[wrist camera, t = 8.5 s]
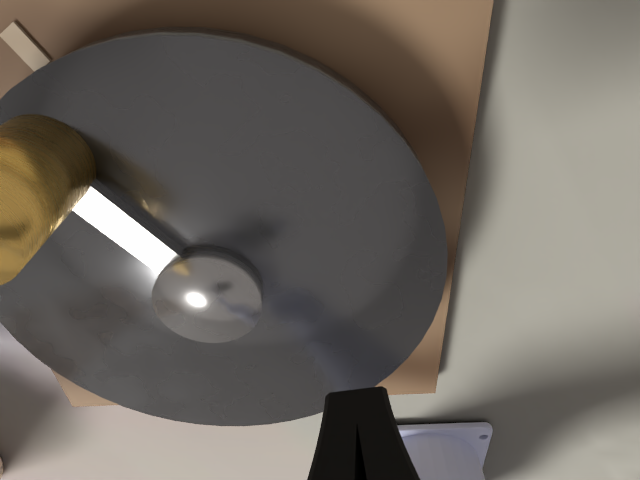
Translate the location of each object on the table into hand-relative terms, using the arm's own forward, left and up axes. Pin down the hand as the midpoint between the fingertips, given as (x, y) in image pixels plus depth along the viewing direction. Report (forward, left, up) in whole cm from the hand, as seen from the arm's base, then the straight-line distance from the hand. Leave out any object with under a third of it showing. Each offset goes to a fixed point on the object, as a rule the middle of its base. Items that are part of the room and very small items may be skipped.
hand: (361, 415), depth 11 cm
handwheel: (-2, +5, -9) cm, 10 cm away
